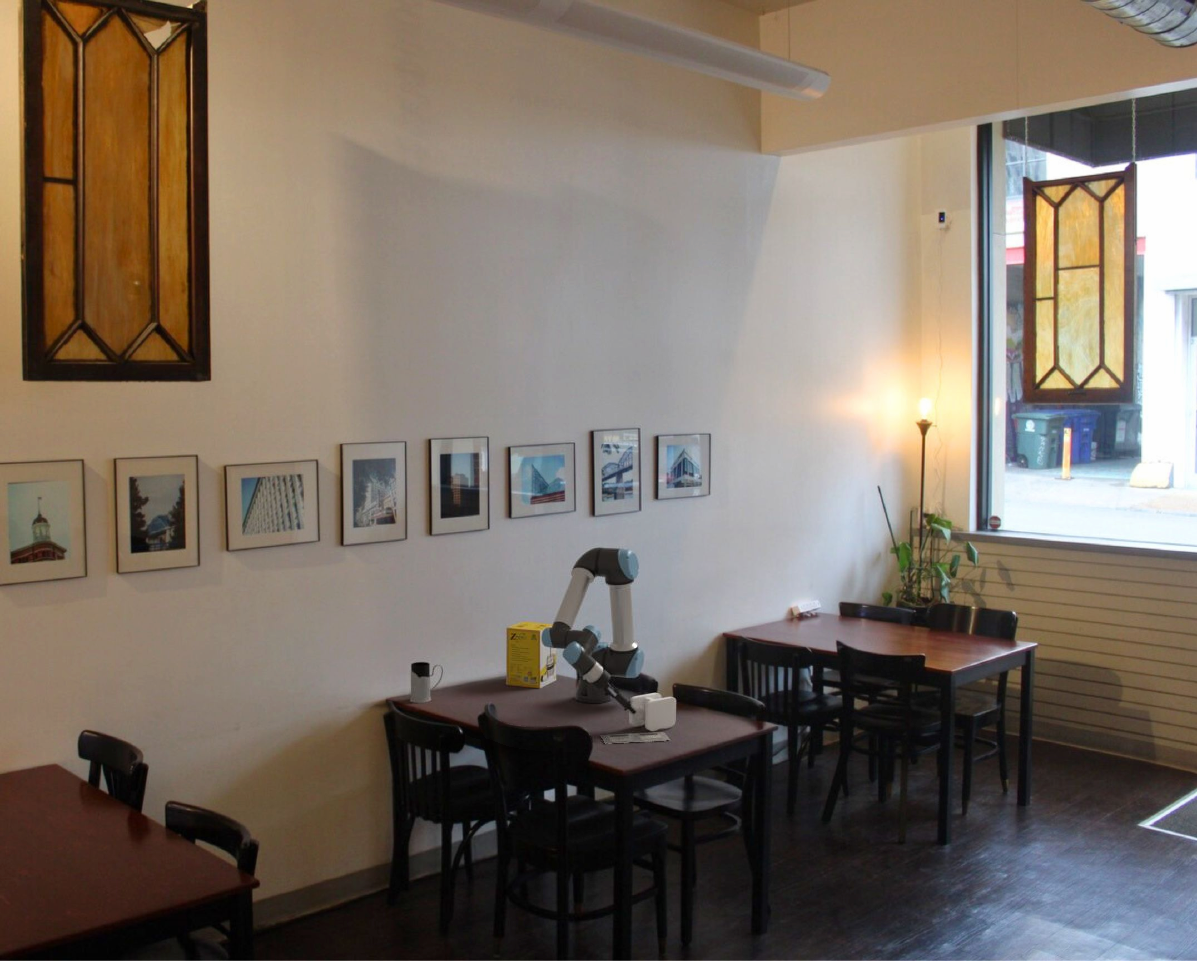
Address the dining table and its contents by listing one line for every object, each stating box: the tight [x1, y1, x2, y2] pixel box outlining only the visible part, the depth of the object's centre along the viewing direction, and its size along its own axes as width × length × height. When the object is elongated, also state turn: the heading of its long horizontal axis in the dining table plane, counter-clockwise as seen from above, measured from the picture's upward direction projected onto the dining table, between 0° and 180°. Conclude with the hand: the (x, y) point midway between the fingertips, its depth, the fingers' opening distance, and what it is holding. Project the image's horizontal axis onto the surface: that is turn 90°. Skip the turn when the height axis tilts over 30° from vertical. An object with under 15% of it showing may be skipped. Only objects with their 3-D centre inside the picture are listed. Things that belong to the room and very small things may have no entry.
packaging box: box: [505, 621, 557, 689], centre depth 496 cm, size 16×16×25 cm
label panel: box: [599, 731, 671, 745], centre depth 414 cm, size 10×24×1 cm, turn 100°
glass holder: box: [409, 661, 444, 704], centre depth 468 cm, size 9×14×15 cm, turn 121°
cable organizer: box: [628, 692, 677, 732], centre depth 428 cm, size 15×11×12 cm
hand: (640, 718), depth 427 cm, fingers closed
